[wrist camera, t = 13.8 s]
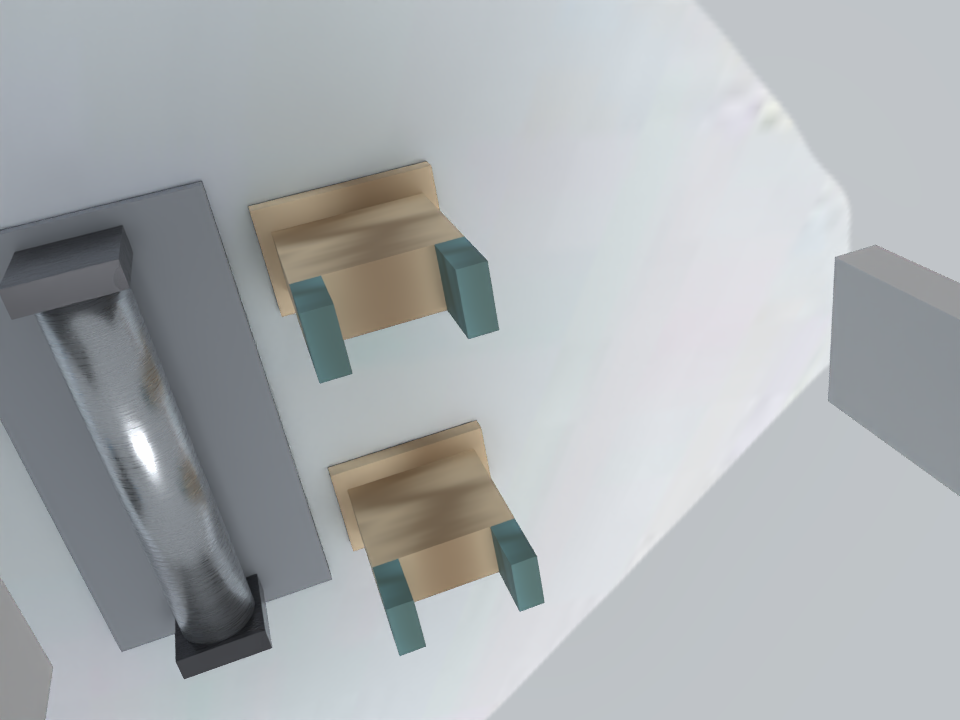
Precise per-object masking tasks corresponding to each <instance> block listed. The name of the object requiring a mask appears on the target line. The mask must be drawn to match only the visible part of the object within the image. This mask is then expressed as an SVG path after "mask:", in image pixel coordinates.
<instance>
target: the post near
mask: <svg viewBox="0 0 960 720" xmlns="http://www.w3.org/2000/svg"><path fill="white" fill-rule="evenodd" d="M248 208H249V211H250V214H251V218H252V221H253V224H254V227H255V231H256V234H257V237H258V240H259V244H260V247H261V250H262V254H263V257H264V260H265V263H266V267H267V270H268V273H269V276H270V280H271V283H272V286H273V290H274V293H275V296H276V299H277V303H278V306H279V309H280V313H281V316H282V317H284V316H287V315H291V314H294V313H296V315H297V318H298V321H299V324H300V327H301V330H302V333H303V336H304V339H305V341H306V344H307V347H308V350H309V353H310V356H311V359H312V362H313V365H314V368H315V371H316V374H317V377H318V380H319V383H323V382H327V381H330V380H333V379H337V378H340V377H343V376H347V375H350V374H352V370H351V366H350V363H349V359H348V355H347V351H346V348H345V344H344V340H346V339H349V338H353V337H356V336H360V335H363V334H366V333H370V332H373V331H377V330H380V329H384V328H387V327H391V326H394V325H398V324H401V323H404V322H408V321H411V320H415V319H418V318H422V317H425V316H429V315H432V314H435V313H439V312H442V311H446V310H448V312H449V313H450V314H451V316H452V317H453V319H454V320H455V321H456V323H457V324H458V325H459V327H460V328H461V329H462V331H463V332H464V334H465V335H466V336H467V338H468V339H471V338H474V337H477V336H481V335H484V334H488V333H491V332H494V331H498V330H499V326H498V320H497V314H496V308H495V302H494V296H493V290H492V284H491V278H490V273H489V267H488V261H487V260H486V259H485V258H484V257H483V256H482V255H481V253H480V252H479V251H478V250H477V249H476V248H475V247H474V246H473V245H472V244H471V243H470V242H469V241H468V240H467V239H466V238H465V237H464V236H463V235H462V234H461V232H460V231H459V230H458V229H457V228H456V227H455V226H454V225H453V224H452V223H451V222H450V221H449V220H448V219H447V218H446V217H445V216H444V215H443V214H442V213H441V212H440V209H439V204H438V199H437V194H436V188H435V183H434V178H433V173H432V167H431V165H430V164H429V163H428V162H427V161H426V162H422V163H418V164H414V165H410V166H406V167H402V168H398V169H394V170H390V171H386V172H382V173H378V174H374V175H370V176H366V177H362V178H358V179H355V180H351V181H347V182H343V183H339V184H335V185H331V186H327V187H323V188H319V189H315V190H311V191H307V192H303V193H299V194H295V195H291V196H287V197H283V198H279V199H275V200H271V201H267V202H263V203H259V204H255V205H252V206H248Z"/></svg>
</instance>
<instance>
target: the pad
mask: <svg viewBox="0 0 960 720" xmlns="http://www.w3.org/2000/svg"><path fill="white" fill-rule="evenodd" d="M120 225H123V227H124V229H125V232H126V234H127V237H128V240H129V242H130V245H131V247H132V250H133V261H132V272H131V283H130V287H131V289H132V292H133V294H134V297H135V299H136V302H137V304H138V307H139V309H140V312H141V314H142V317H143V319H144V322H145V325H146V327H147V330H148V332H149V335H150V337H151V340H152V342H153V345H154V347H155V350H156V352H157V355H158V357H159V360H160V363H161V365H162V368H163V370H164V373H165V375H166V378H167V380H168V383H169V385H170V388H171V390H172V393H173V395H174V398H175V400H176V403H177V406H178V408H179V411H180V413H181V416H182V418H183V421H184V423H185V426H186V428H187V431H188V433H189V436H190V438H191V441H192V444H193V446H194V449H195V451H196V454H197V456H198V459H199V461H200V464H201V466H202V469H203V471H204V474H205V476H206V479H207V482H208V484H209V487H210V489H211V492H212V494H213V497H214V499H215V502H216V504H217V507H218V509H219V512H220V514H221V517H222V519H223V522H224V525H225V527H226V530H227V532H228V535H229V537H230V540H231V542H232V545H233V547H234V550H235V552H236V555H237V557H238V560H239V563H240V565H241V568H242V570H243V573H244V575H245V577H248V576H251V575H254V574H257V575H258V577H259V580H260V583H261V585H262V588H263V590H264V597H265V602H268V601H271V600H274V599H277V598H280V597H283V596H286V595H288V594H291V593H294V592H297V591H300V590H303V589H306V588H309V587H312V586H315V585H317V584H320V583H323V582H326V581H329V580H332V578H331V574H330V570H329V567H328V564H327V561H326V558H325V555H324V552H323V549H322V546H321V543H320V540H319V537H318V534H317V531H316V528H315V525H314V522H313V519H312V516H311V513H310V509H309V506H308V503H307V500H306V497H305V494H304V491H303V488H302V485H301V482H300V479H299V476H298V473H297V470H296V467H295V464H294V461H293V458H292V455H291V452H290V449H289V445H288V442H287V439H286V436H285V433H284V430H283V427H282V424H281V421H280V418H279V415H278V412H277V409H276V406H275V403H274V400H273V397H272V394H271V391H270V388H269V384H268V381H267V378H266V375H265V372H264V369H263V366H262V363H261V360H260V357H259V354H258V351H257V348H256V345H255V342H254V339H253V336H252V333H251V330H250V327H249V324H248V320H247V317H246V314H245V311H244V308H243V305H242V302H241V299H240V296H239V293H238V290H237V287H236V284H235V281H234V278H233V275H232V272H231V269H230V266H229V263H228V259H227V256H226V253H225V250H224V247H223V244H222V241H221V238H220V235H219V232H218V229H217V226H216V223H215V220H214V217H213V214H212V211H211V208H210V205H209V202H208V199H207V195H206V192H205V189H204V186H203V183H202V181H201V182H197V183H193V184H188V185H184V186H180V187H176V188H172V189H168V190H164V191H160V192H156V193H152V194H147V195H143V196H139V197H135V198H131V199H127V200H123V201H119V202H115V203H111V204H106V205H102V206H98V207H94V208H90V209H86V210H82V211H78V212H74V213H70V214H65V215H61V216H57V217H53V218H49V219H45V220H41V221H37V222H33V223H29V224H25V225H20V226H16V227H12V228H8V229H4V230H0V283H1V281H2V279H3V277H4V274H5V272H6V270H7V268H8V265H9V263H10V261H11V259H12V256H13V254H14V252H16V251H20V250H24V249H28V248H32V247H36V246H40V245H44V244H48V243H52V242H56V241H60V240H64V239H68V238H72V237H76V236H80V235H84V234H88V233H92V232H96V231H100V230H104V229H108V228H112V227H116V226H120ZM0 420H1V421H2V423H3V425H4V427H5V429H6V431H7V433H8V435H9V437H10V439H11V441H12V443H13V445H14V446H15V448H16V450H17V452H18V454H19V456H20V458H21V460H22V462H23V464H24V466H25V468H26V470H27V471H28V473H29V475H30V477H31V479H32V481H33V483H34V485H35V487H36V489H37V491H38V493H39V494H40V496H41V498H42V500H43V502H44V504H45V506H46V508H47V510H48V512H49V514H50V516H51V518H52V519H53V521H54V523H55V525H56V527H57V529H58V531H59V533H60V535H61V537H62V539H63V541H64V543H65V544H66V546H67V548H68V550H69V552H70V554H71V556H72V558H73V560H74V562H75V564H76V566H77V568H78V569H79V571H80V573H81V575H82V577H83V579H84V581H85V583H86V585H87V587H88V589H89V591H90V592H91V594H92V596H93V598H94V600H95V602H96V604H97V606H98V608H99V610H100V612H101V614H102V616H103V617H104V619H105V621H106V623H107V625H108V627H109V629H110V631H111V633H112V635H113V637H114V639H115V641H116V642H117V644H118V646H119V648H120V650H121V652H123V651H126V650H129V649H132V648H135V647H138V646H141V645H144V644H146V643H149V642H152V641H155V640H158V639H161V638H164V637H167V636H170V635H173V634H175V616H174V614H173V612H172V610H171V608H170V606H169V603H168V601H167V599H166V597H165V595H164V593H163V590H162V588H161V586H160V584H159V582H158V580H157V578H156V575H155V573H154V571H153V569H152V567H151V565H150V562H149V560H148V558H147V556H146V554H145V552H144V549H143V547H142V545H141V543H140V541H139V539H138V537H137V534H136V532H135V530H134V528H133V526H132V524H131V521H130V519H129V517H128V515H127V513H126V511H125V509H124V506H123V504H122V502H121V500H120V498H119V496H118V493H117V491H116V489H115V487H114V485H113V483H112V480H111V478H110V476H109V474H108V472H107V470H106V468H105V465H104V463H103V461H102V459H101V457H100V455H99V452H98V450H97V448H96V446H95V444H94V442H93V440H92V437H91V435H90V433H89V431H88V429H87V427H86V424H85V422H84V420H83V418H82V416H81V414H80V411H79V409H78V407H77V405H76V403H75V401H74V399H73V396H72V394H71V392H70V390H69V388H68V386H67V383H66V381H65V379H64V377H63V375H62V373H61V370H60V368H59V366H58V364H57V362H56V360H55V358H54V355H53V353H52V351H51V349H50V347H49V345H48V342H47V340H46V338H45V336H44V334H43V332H42V330H41V327H40V325H39V323H38V321H37V319H36V317H35V314H33V315H29V316H25V317H21V318H18V319H14V320H11V318H10V316H9V313H8V311H7V309H6V307H5V305H4V303H3V301H2V299H1V297H0Z"/></svg>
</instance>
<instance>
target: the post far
mask: <svg viewBox="0 0 960 720" xmlns="http://www.w3.org/2000/svg"><path fill="white" fill-rule="evenodd" d="M328 470H329V473H330V476H331V480H332V483H333V486H334V489H335V493H336V496H337V499H338V503H339V506H340V509H341V512H342V516H343V519H344V522H345V526H346V529H347V532H348V535H349V539H350V542H351V545H352V548H353V551H356V550H359V549H362V548H365V550H366V553H367V556H368V559H369V562H370V565H371V568H372V572H373V575H374V578H375V581H376V584H377V587H378V590H379V593H380V596H381V600H382V603H383V606H384V609H385V612H386V615H387V618H388V621H389V624H390V628H391V631H392V634H393V637H394V640H395V643H396V646H397V649H398V652H399V655H400V656H401V655H404V654H407V653H410V652H412V651H415V650H418V649H420V648H423V647H426V644H425V641H424V637H423V633H422V630H421V626H420V622H419V618H418V615H417V611H416V607H415V604H414V602H416V601H419V600H422V599H424V598H427V597H430V596H433V595H436V594H438V593H441V592H444V591H447V590H450V589H452V588H455V587H458V586H461V585H464V584H466V583H469V582H472V581H475V580H478V579H480V578H483V577H486V576H489V575H492V574H494V573H497V572H499V573H500V574H501V576H502V578H503V580H504V582H505V584H506V586H507V588H508V590H509V592H510V594H511V596H512V598H513V600H514V602H515V604H516V605H517V607H518V609H519V611H520V612H521V611H523V610H526V609H529V608H531V607H534V606H537V605H540V604H542V603H545V602H544V596H543V590H542V584H541V578H540V572H539V566H538V560H537V556H536V554H535V552H534V550H533V549H532V547H531V545H530V544H529V542H528V540H527V539H526V537H525V535H524V533H523V532H522V530H521V528H520V527H519V525H518V523H517V522H516V520H515V518H514V516H513V515H512V513H511V511H510V510H509V508H508V506H507V505H506V503H505V501H504V499H503V498H502V496H501V494H500V493H499V491H498V489H497V488H496V486H495V484H494V482H493V481H492V479H491V477H490V472H489V466H488V461H487V456H486V451H485V445H484V440H483V435H482V430H481V427H480V425H479V424H478V422H477V421H473V422H470V423H467V424H464V425H460V426H457V427H454V428H451V429H448V430H445V431H442V432H438V433H435V434H432V435H429V436H426V437H423V438H420V439H416V440H413V441H410V442H407V443H404V444H401V445H398V446H394V447H391V448H388V449H385V450H382V451H379V452H376V453H373V454H369V455H366V456H363V457H360V458H357V459H354V460H351V461H347V462H344V463H341V464H338V465H335V466H332V467H329V468H328Z"/></svg>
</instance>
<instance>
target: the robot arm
mask: <svg viewBox="0 0 960 720" xmlns="http://www.w3.org/2000/svg"><path fill="white" fill-rule="evenodd" d="M829 372H830V373H829V392H828V401H829V402H830V403H831V404H833V405H834V406H836V407H837V408H838V409H840V410H841V411H843V412H844V413H845V414H847V415H848V416H849V417H851V418H852V419H854V420H855V421H856V422H858V423H859V424H860V425H862V426H863V427H865V428H866V429H868V430H869V431H870V432H872V433H873V434H874V435H876V436H877V437H878V438H880V439H881V440H883V441H884V442H885V443H887V444H888V445H890V446H891V447H892V448H894V449H895V450H897V451H898V452H900V453H901V454H902V455H903V456H905V457H906V458H908V459H909V460H910V461H912V462H913V463H914V464H916V465H917V466H919V467H920V468H921V469H923V470H924V471H926V472H927V473H928V474H930V475H931V476H933V477H934V478H935V479H937V480H938V481H939V482H941V483H942V484H943V485H945V486H946V487H948V488H949V489H950V490H952V491H953V492H955V493H956V494H957V495H959V496H960V283H958V282H956V281H954V280H952V279H950V278H948V277H945V276H943V275H941V274H938V273H937V272H934V271H932V270H930V269H928V268H926V267H923V266H921V265H919V264H917V263H915V262H912V261H910V260H908V259H906V258H904V257H901V256H899V255H897V254H895V253H892V252H890V251H888V250H886V249H884V248H881V247H879V246H877V245H873V246H870V247H867V248H863V249H860V250H857V251H854V252H850V253H847V254H844V255H841V256H837V257H835V268H834V288H833V309H832V329H831V350H830V371H829ZM52 671H53V666H52V664H51V663H50V661H49V659H48V657H47V656H46V654H45V652H44V651H43V649H42V647H41V645H40V644H39V642H38V640H37V639H36V637H35V635H34V633H33V632H32V630H31V628H30V627H29V625H28V623H27V621H26V620H25V618H24V616H23V615H22V613H21V611H20V609H19V608H18V606H17V604H16V603H15V601H14V599H13V597H12V596H11V594H10V592H9V591H8V589H7V587H6V585H5V584H4V582H3V580H2V579H1V577H0V720H45V719H46V712H47V705H48V698H49V692H50V685H51V678H52Z"/></svg>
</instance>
